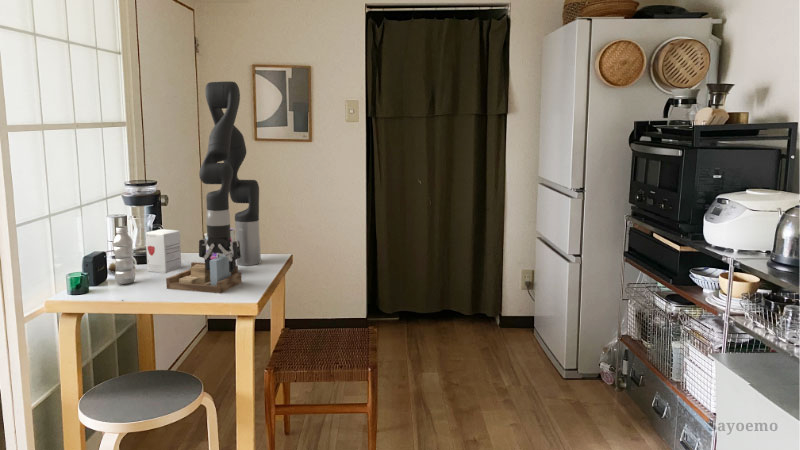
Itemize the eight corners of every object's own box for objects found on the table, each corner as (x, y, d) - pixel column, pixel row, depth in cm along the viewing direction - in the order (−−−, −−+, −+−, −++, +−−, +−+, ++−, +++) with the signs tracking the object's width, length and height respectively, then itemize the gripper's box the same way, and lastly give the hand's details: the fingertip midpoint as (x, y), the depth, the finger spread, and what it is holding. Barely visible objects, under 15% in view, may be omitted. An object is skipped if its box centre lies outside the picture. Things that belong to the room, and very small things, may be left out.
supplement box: (146, 271, 243) (144, 232, 240) (163, 266, 251) (161, 228, 248) (165, 273, 239) (163, 234, 237) (182, 268, 248) (180, 230, 245)
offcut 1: (187, 284, 220) (186, 276, 220) (199, 286, 219) (198, 277, 218) (179, 287, 217) (178, 279, 216) (191, 289, 215) (191, 280, 214)
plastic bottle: (140, 282, 228) (136, 226, 224) (126, 286, 221) (122, 229, 218) (125, 280, 230) (121, 225, 226) (111, 285, 223) (106, 228, 220)
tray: (190, 281, 229) (189, 261, 228) (241, 285, 224) (240, 265, 223) (166, 291, 216) (165, 271, 214) (220, 296, 210) (219, 275, 209)
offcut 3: (197, 280, 226) (197, 272, 225) (212, 281, 224) (212, 273, 224) (189, 284, 221) (188, 275, 221) (204, 285, 219) (204, 276, 219)
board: (225, 283, 222) (223, 254, 221) (231, 283, 222) (230, 255, 220) (210, 290, 214) (209, 260, 212) (217, 290, 213) (216, 261, 212)
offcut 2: (196, 272, 225) (196, 264, 224) (210, 273, 224) (209, 264, 224) (190, 275, 220) (190, 267, 220) (204, 276, 220) (204, 267, 219)
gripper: (243, 222, 216) (245, 269, 218) (205, 220, 220) (207, 267, 222) (231, 225, 209) (233, 274, 211) (193, 223, 212) (195, 271, 215)
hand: (220, 270), depth 217 cm, fingers open, 8 cm apart
